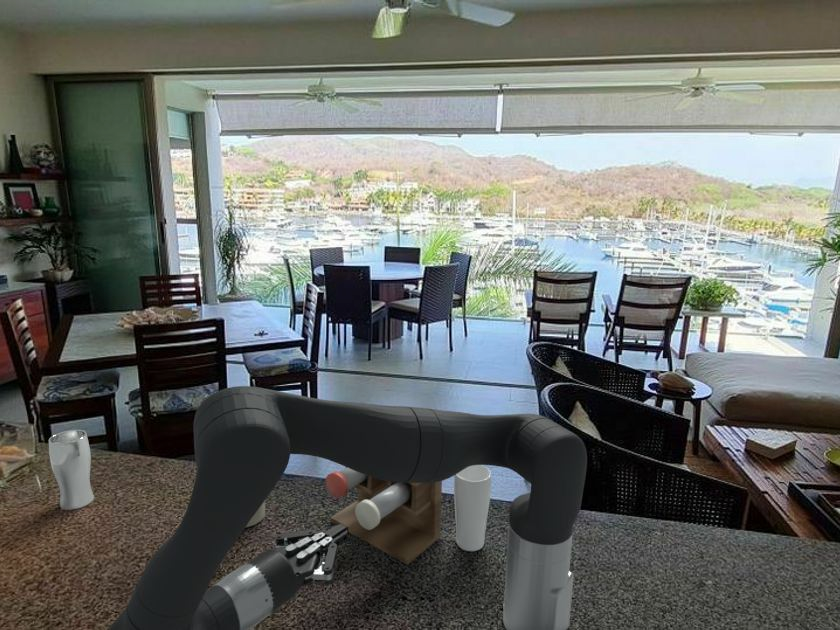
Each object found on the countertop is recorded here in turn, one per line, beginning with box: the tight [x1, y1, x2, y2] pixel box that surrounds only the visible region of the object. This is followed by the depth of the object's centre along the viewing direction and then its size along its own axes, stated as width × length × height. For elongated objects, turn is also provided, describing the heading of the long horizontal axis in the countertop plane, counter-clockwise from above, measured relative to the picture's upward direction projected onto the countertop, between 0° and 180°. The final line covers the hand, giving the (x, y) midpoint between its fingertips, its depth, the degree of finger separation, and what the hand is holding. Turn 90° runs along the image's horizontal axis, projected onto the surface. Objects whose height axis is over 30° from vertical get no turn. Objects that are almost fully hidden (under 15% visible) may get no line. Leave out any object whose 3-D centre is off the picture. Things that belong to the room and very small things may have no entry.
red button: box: [325, 467, 368, 499], centre depth 103 cm, size 5×10×5 cm, turn 142°
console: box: [330, 467, 443, 565], centre depth 102 cm, size 20×10×18 cm, turn 52°
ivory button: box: [355, 483, 411, 530], centre depth 94 cm, size 5×10×5 cm, turn 142°
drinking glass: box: [453, 465, 492, 552], centre depth 98 cm, size 7×7×15 cm
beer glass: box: [48, 429, 95, 511], centre depth 110 cm, size 7×7×15 cm
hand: (344, 530), depth 86 cm, fingers closed
